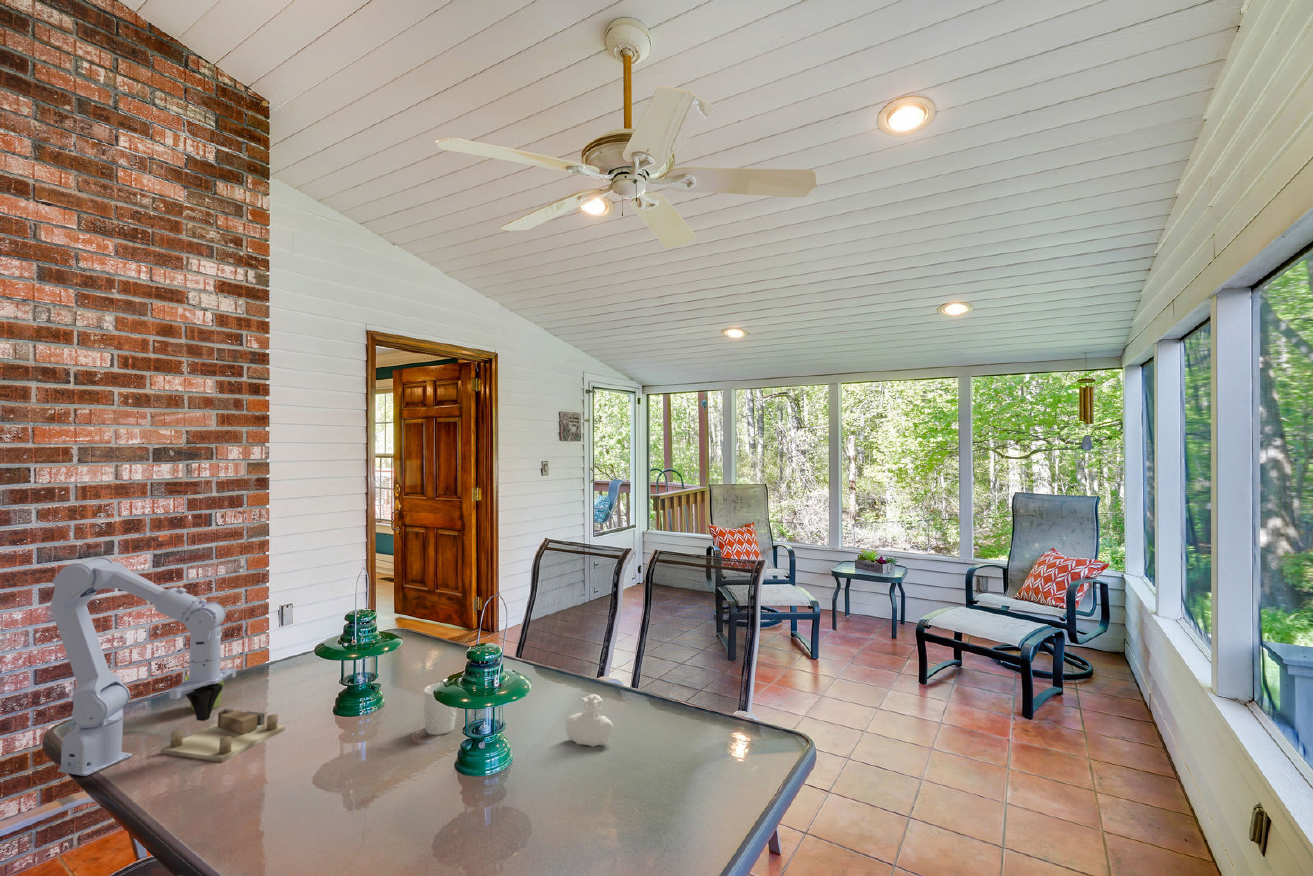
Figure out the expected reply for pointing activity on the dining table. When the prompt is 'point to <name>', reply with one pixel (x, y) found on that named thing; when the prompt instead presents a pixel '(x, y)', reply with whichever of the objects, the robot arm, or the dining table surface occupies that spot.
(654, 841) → the dining table surface
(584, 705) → the white sack
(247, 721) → the hinged leg
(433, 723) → the white cup
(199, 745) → the tan peg board
